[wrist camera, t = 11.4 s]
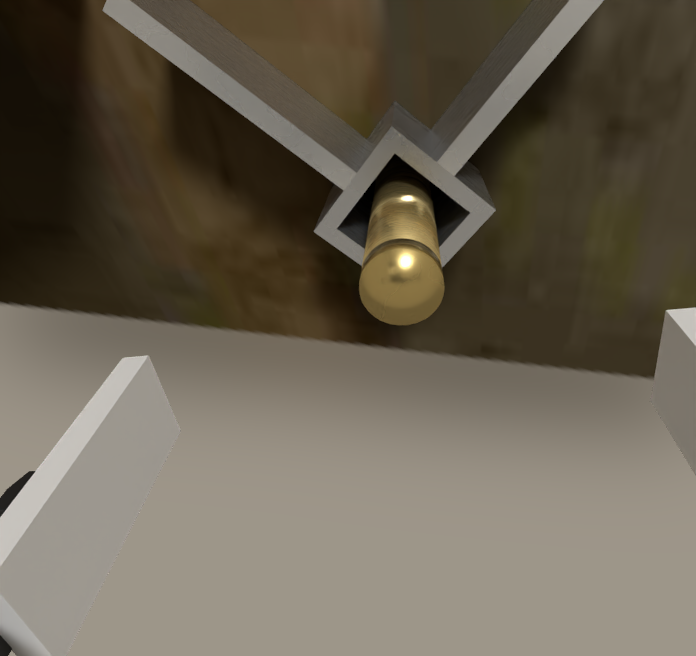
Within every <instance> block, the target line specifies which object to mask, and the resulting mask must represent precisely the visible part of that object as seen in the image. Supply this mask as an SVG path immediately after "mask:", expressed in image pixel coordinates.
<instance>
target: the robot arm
mask: <svg viewBox="0 0 696 656" xmlns="http://www.w3.org/2000/svg"><path fill="white" fill-rule="evenodd" d="M651 403H652V405H653V406H654V408H655V409H656V411H657V412H658V414H659V416H660V418H661V419H662V421H663V422H664V424H665V426H666V427H667V429H668V431H669V432H670V434H671V436H672V437H673V439H674V441H675V442H676V444H677V445H678V447H679V449H680V450H681V452H682V454H683V455H684V457H685V459H686V460H687V462H688V464H689V465H690V467H691V469H692V470H693V472H694V473H695V475H696V308H686V309H674V310H666V313H665V319H664V325H663V331H662V336H661V342H660V348H659V354H658V360H657V366H656V372H655V377H654V384H653V389H652V395H651ZM180 431H181V430H180V428H179V426H178V423H177V421H176V418H175V416H174V414H173V411H172V409H171V407H170V404H169V402H168V400H167V397H166V395H165V393H164V390H163V388H162V386H161V383H160V381H159V379H158V376H157V374H156V372H155V369H154V367H153V365H152V362H151V360H150V358H149V356H139V357H126V358H122V360H121V361H120V362H119V364H118V365H117V366H116V368H115V369H114V370H113V371H112V373H111V374H110V375H109V377H108V378H107V379H106V380H105V382H104V383H103V384H102V386H101V387H100V388H99V390H98V391H97V392H96V394H95V395H94V396H93V397H92V399H91V400H90V401H89V403H88V404H87V405H86V406H85V408H84V409H83V410H82V412H81V413H80V414H79V416H78V417H77V418H76V419H75V421H74V422H73V423H72V425H71V426H70V427H69V429H68V430H67V431H66V432H65V434H64V435H63V436H62V438H61V439H60V440H59V442H58V443H57V444H56V446H55V447H54V448H53V449H52V451H51V452H50V453H49V455H48V456H47V457H46V458H45V460H44V461H43V462H42V464H41V465H40V466H39V468H38V469H37V470H36V471H29V472H28V473H27V474H25V475H24V476H23V477H22V478H20V479H19V480H18V481H17V482H15V483H14V484H13V485H12V486H11V487H9V488H8V489H7V490H6V491H5V493H4V494H3V495H2V496H1V498H0V656H8V655H9V653H10V652H11V650H12V651H13V652H14V653H15V654H16V655H17V656H67V654H68V652H69V650H70V648H71V646H72V644H73V642H74V640H75V638H76V636H77V634H78V632H79V630H80V628H81V626H82V624H83V622H84V620H85V618H86V616H87V614H88V612H89V610H90V609H91V607H92V605H93V603H94V601H95V599H96V597H97V595H98V593H99V591H100V589H101V587H102V585H103V583H104V581H105V579H106V577H107V575H108V573H109V571H110V569H111V567H112V565H113V563H114V561H115V559H116V557H117V555H118V553H119V551H120V549H121V547H122V545H123V543H124V541H125V540H126V538H127V536H128V534H129V532H130V530H131V528H132V526H133V524H134V522H135V520H136V518H137V516H138V514H139V512H140V510H141V508H142V506H143V504H144V502H145V500H146V498H147V496H148V494H149V492H150V490H151V488H152V486H153V485H154V482H155V481H156V479H157V477H158V475H159V473H160V471H161V469H162V467H163V465H164V463H165V461H166V459H167V457H168V455H169V453H170V451H171V449H172V447H173V445H174V443H175V441H176V439H177V437H178V435H179V433H180Z"/></svg>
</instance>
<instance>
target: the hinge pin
mask: <svg viewBox="0 0 696 656" xmlns="http://www.w3.org/2000/svg"><path fill="white" fill-rule="evenodd" d="M359 293H360V298H361V300H362V303H363V304H364V306H365V308H366V309H367V310H368V311H369V312H370V313H371V314H372V315H373V316H374V317H375V318H377V319H379V320H381V321H383V322H385V323H388V324H393V325H410V324H414V323H417V322H420V321H422V320H424V319H426V318H427V317H429V316H430V315H431V314H432V313H433V312H434V311H435V310H436V309H437V308H438V306H439V305H440V303H441V301H442V298H443V295H444V279H443V272H442V265H441V258H440V251H439V244H438V237H437V230H436V223H435V216H434V209H433V202H432V195H431V188H430V181H429V180H428V179H427V178H425V177H424V176H423V175H422V174H420V173H419V172H418V171H417V170H415V169H414V168H413V167H412V166H410V165H409V164H408V163H406V162H405V161H404V160H403V159H401V158H400V157H399V156H398V155H396V154H394V155H393V156H392V157H391V159H390V160H389V161H388V163H387V164H386V165H385V166H384V168H383V169H382V170H381V172H380V173H379V174H378V176H377V178H376V184H375V190H374V196H373V202H372V209H371V215H370V221H369V227H368V233H367V239H366V245H365V251H364V257H363V263H362V269H361V275H360V281H359Z"/></svg>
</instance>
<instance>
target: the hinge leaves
mask: <svg viewBox="0 0 696 656" xmlns="http://www.w3.org/2000/svg"><path fill="white" fill-rule="evenodd" d="M603 1H604V0H532V1H531V3H530V4H529V5H528V7H527V8H526V9H525V10H524V12H523V13H522V14H521V15H520V17H519V18H518V19H517V21H516V22H515V23H514V24H513V26H512V27H511V28H510V29H509V31H508V32H507V33H506V35H505V36H504V37H503V38H502V40H501V41H500V42H499V44H498V45H497V46H496V47H495V49H494V50H493V51H492V52H491V54H490V55H489V56H488V58H487V59H486V60H485V61H484V63H483V64H482V65H481V66H480V68H479V69H478V70H477V72H476V73H475V74H474V75H473V77H472V78H471V79H470V80H469V82H468V83H467V84H466V86H465V87H464V88H463V89H462V91H461V92H460V93H459V94H458V96H457V97H456V98H455V100H454V101H453V102H452V103H451V105H450V106H449V107H448V108H447V110H446V111H445V112H444V114H443V115H442V116H441V117H440V119H439V120H438V121H437V123H436V124H435V125H434V126H433V128H432V129H431V130H430V129H429V128H427V127H426V126H425V125H424V124H423V123H421V122H420V121H419V120H418V119H416V118H415V117H414V116H413V115H412V114H410V113H409V112H408V111H407V110H405V109H404V108H403V107H402V106H401V105H399V104H398V103H397V102H396V101H394V102H393V104H392V105H391V107H390V108H389V109H388V111H387V112H386V114H385V115H384V116H383V118H382V119H381V120H380V122H379V123H378V125H377V126H376V127H375V129H374V130H373V131H372V133H371V134H370V136H369V137H368V138H367V139H366V138H364V137H363V136H362V135H361V134H359V133H358V132H357V131H356V130H354V129H353V128H352V127H350V126H349V125H348V124H347V123H345V122H344V121H343V120H342V119H340V118H339V117H338V116H336V115H335V114H334V113H333V112H331V111H330V110H329V109H328V108H326V107H325V106H324V105H322V104H321V103H320V102H319V101H317V100H316V99H315V98H314V97H312V96H311V95H310V94H308V93H307V92H306V91H305V90H303V89H302V88H301V87H299V86H298V85H297V84H296V83H294V82H293V81H292V80H291V79H289V78H288V77H287V76H285V75H284V74H283V73H282V72H280V71H279V70H278V69H277V68H275V67H274V66H273V65H271V64H270V63H269V62H268V61H266V60H265V59H264V58H263V57H261V56H260V55H259V54H257V53H256V52H255V51H254V50H252V49H251V48H250V47H249V46H247V45H246V44H245V43H243V42H242V41H241V40H240V39H238V38H237V37H236V36H234V35H233V34H232V33H231V32H229V31H228V30H227V29H226V28H224V27H223V26H222V25H220V24H219V23H218V22H217V21H215V20H214V19H213V18H212V17H210V16H209V15H208V14H206V13H205V12H204V11H203V10H201V9H200V8H199V7H198V6H196V5H195V4H194V3H192V2H191V1H190V0H107V1H106V3H105V6H104V8H103V11H104V12H105V13H106V14H108V15H109V16H110V17H112V18H113V19H114V20H116V21H117V22H118V23H120V24H121V25H122V26H124V27H125V28H126V29H128V30H129V31H130V32H132V33H133V34H135V35H136V36H137V37H139V38H140V39H141V40H143V41H144V42H145V43H147V44H148V45H149V46H151V47H152V48H153V49H155V50H156V51H157V52H159V53H160V54H161V55H163V56H164V57H165V58H167V59H168V60H169V61H171V62H172V63H173V64H175V65H176V66H177V67H179V68H180V69H181V70H183V71H184V72H185V73H187V74H188V75H189V76H191V77H192V78H193V79H195V80H196V81H198V82H199V83H200V84H202V85H203V86H204V87H206V88H207V89H208V90H210V91H211V92H212V93H214V94H215V95H216V96H218V97H219V98H220V99H222V100H223V101H224V102H226V103H227V104H228V105H230V106H231V107H232V108H234V109H235V110H236V111H238V112H239V113H240V114H242V115H243V116H244V117H246V118H247V119H248V120H250V121H251V122H252V123H254V124H255V125H256V126H258V127H259V128H261V129H262V130H263V131H265V132H266V133H267V134H269V135H270V136H271V137H273V138H274V139H275V140H277V141H278V142H279V143H281V144H282V145H283V146H285V147H286V148H287V149H289V150H290V151H291V152H293V153H294V154H295V155H297V156H298V157H299V158H301V159H302V160H303V161H305V162H306V163H307V164H309V165H310V166H311V167H313V168H314V169H315V170H317V171H318V172H319V173H321V174H322V175H324V176H325V177H326V178H328V179H329V180H330V181H332V182H333V183H334V185H333V187H332V188H331V190H330V192H329V195H328V197H327V200H326V202H325V205H324V207H323V210H322V212H321V214H320V217H319V219H318V222H317V224H316V227H315V229H314V232H315V233H316V234H317V235H319V236H320V237H322V238H323V239H324V240H326V241H327V242H329V243H330V244H331V245H333V246H334V247H336V248H337V249H339V250H340V251H341V252H343V253H344V254H346V255H347V256H348V257H350V258H351V259H353V260H354V261H355V262H357V263H358V264H360V265H361V266H362V263H363V257H364V251H365V245H366V239H367V233H368V227H369V221H370V215H371V209H372V202H371V201H369V200H368V199H367V198H365V197H364V196H363V194H364V193H365V191H366V190H367V189H368V187H369V186H370V185H371V183H372V182H373V181H374V180H375V178H376V177H377V176H378V174H379V173H380V172H381V170H382V169H383V168H384V166H385V165H386V164H387V163H388V161H389V160H390V159H391V157H392V156H393V155H394V153H395V154H396V155H398V156H399V157H400V158H401V159H403V160H404V161H405V162H406V163H408V164H409V165H410V166H412V167H413V168H414V169H415V170H417V171H418V172H419V173H420V174H422V175H423V176H424V177H425V178H427V179H428V180H429V181H431V182H432V183H433V184H434V185H436V186H437V187H438V188H439V189H441V190H442V191H441V192H440V193H439V195H438V196H437V197H436V198H435V199H434V201H433V209H434V216H435V223H436V230H437V237H438V244H439V251H440V258H441V265H442V267H443V266H444V265H445V264H446V263H447V262H448V261H449V260H450V259H451V258H452V257H453V256H454V255H455V253H456V252H457V251H458V250H459V249H460V248H461V247H462V246H463V245H464V244H465V243H466V242H467V241H468V240H469V238H470V237H471V236H472V235H473V234H474V233H475V232H476V231H477V230H478V229H479V228H480V227H481V226H482V225H483V223H484V222H485V221H486V220H487V219H488V218H489V217H490V216H491V215H492V214H493V213H494V212H495V211H496V209H495V206H494V204H493V202H492V200H491V197H490V195H489V193H488V190H487V188H486V186H485V183H484V181H483V179H482V177H481V174H480V172H479V170H478V169H477V168H476V167H475V166H474V165H473V164H471V163H470V162H469V161H468V159H469V158H470V157H471V156H472V155H473V154H474V152H475V151H476V150H477V149H478V148H479V146H480V145H481V144H482V143H483V142H484V141H485V139H486V138H487V137H488V136H489V135H490V134H491V132H492V131H493V130H494V129H495V128H496V126H497V125H498V124H499V123H500V122H501V121H502V119H503V118H504V117H505V116H506V115H507V114H508V112H509V111H510V110H511V109H512V108H513V106H514V105H515V104H516V103H517V102H518V101H519V99H520V98H521V97H522V96H523V95H524V94H525V92H526V91H527V90H528V89H529V88H530V86H531V85H532V84H533V83H534V82H535V81H536V79H537V78H538V77H539V76H540V75H541V74H542V72H543V71H544V70H545V69H546V68H547V67H548V65H549V64H550V63H551V62H552V61H553V59H554V58H555V57H556V56H557V55H558V54H559V52H560V51H561V50H562V49H563V48H564V47H565V45H566V44H567V43H568V42H569V41H570V39H571V38H572V37H573V36H574V35H575V34H576V32H577V31H578V30H579V29H580V28H581V27H582V25H583V24H584V23H585V22H586V21H587V19H588V18H589V17H590V16H591V15H592V14H593V12H594V11H595V10H596V9H597V8H598V7H599V5H600V4H601V3H602V2H603Z"/></svg>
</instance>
